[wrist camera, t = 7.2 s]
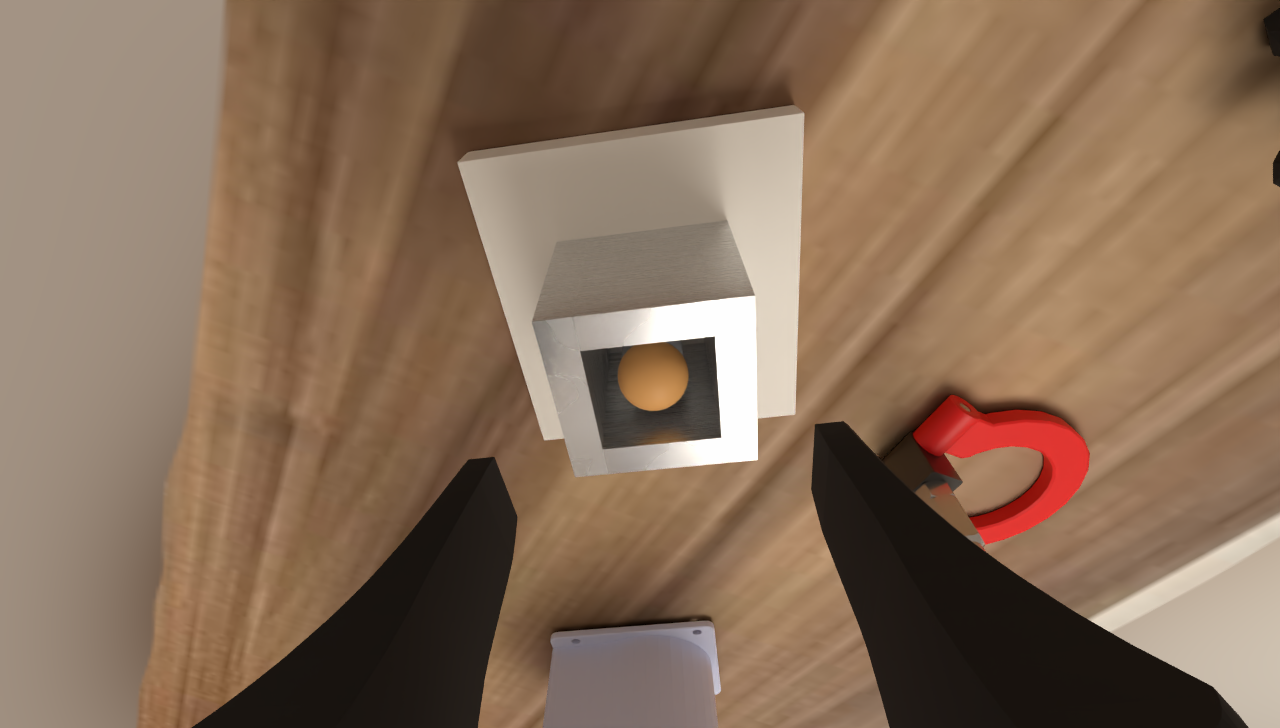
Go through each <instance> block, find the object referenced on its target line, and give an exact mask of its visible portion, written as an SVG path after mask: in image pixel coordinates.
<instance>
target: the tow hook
mask: <svg viewBox="0 0 1280 728" xmlns="http://www.w3.org/2000/svg"><path fill="white" fill-rule="evenodd" d="M1009 446H1015V447H1028V448H1031V449H1034V450H1037V451H1040V452H1041V453H1042V454H1043V456H1044V467H1043V470H1042V472H1041V474H1040V477H1039V478H1038V480H1037V481H1036V482H1035V483H1034V485H1033V486H1032V487H1031V488H1030V489H1029V490H1028V491H1027V492H1026V493H1024V494H1023V495H1022V496H1021V497H1020V498H1018V499H1016V500H1015V501H1013V502H1011V503H1010V504H1008V505H1007V506H1004V507H1002V508H1000V509H997V510H995V511H993V512H990V513H986V514H983V515H979V516H975V517H968V515H967V514H966V512H965V510H964V509H963V507H962V506H961V504H960V503H959V501H958V500H957V498H956V497H955V495H954V493H953V491H954V490H955V489H956V488H957V487H959V486H960V485H961V484H962V480H961V478H960V477H959V475H958V474H957V472H956V471H955V470H954V468H953V467H952V465H951V464H950V462H949V461H948V459H947V458H946V456H945V455H944V453H948V454H951V455H954V456H957V457H959V458H966V457H971V456H973V455H975V454H977V453H981V452H984V451H987V450H991V449H994V448H1001V447H1009ZM1089 456H1090V453H1089V451H1088V448H1087V446H1086V443H1085V441H1084V439H1083V438H1082V437H1081V436H1080V435H1079V434H1078V433H1077V432H1076V431H1075V430H1074V429H1073V428H1072V427H1071V426H1070V425H1068V424H1067V423H1066V422H1065V421H1064V420H1062V419H1061V418H1059V417H1056V416H1053V415H1050V414H1047V413H1045V412H1042V411H1029V410H1010V411H1002V412H995V413H988V414H983V413H981V412H978V411H977V410H976V409H975V408H974V407H973V406H972V405H970V404H969V403H968V402H966V401H965V400H963V399H962V398H960V397H958V396H955V395H950V396H949V397H948V398H947V399H946V400H945V401H944V402H943V403H942V404H941V405H940V406H939V407H938V408H937V409H936V410H935V411H934V412H933V413H932V414H931V415H930V416H929V417H928V418H927V419H926V420H925V421H924V422H923V423H922V424H921V425H920V426H919V427H918V428H917V429H916V430H915V431H912V432H910V433H909V434H908V435H907V436H906V437H905V438H904V439H903V440H902V441H901V442H900V443H899V444H898V445H897V446H896V447H895V448H894V449H893V450H892V451H891V452H890V453H889V454H888V455H887V456H886V457H885V458H884V459H883V460H882V461H883V462H884V463H885V465H886V466H887V467H888V468H889V469H890V470H892V471H893V472H894V473H895V474H896V475H897V476H898V477H899V478H900V479H901V480H902V481H903V482H904V483H905V484H906V485H907V486H908V487H909V488H910V489H911V490H912V491H913V492H915V493H916V494H917V495H918V496H919V497H920V498H921V499H922V500H923V501H924V502H925V503H927V504H928V505H929V506H930V507H931V508H932V509H933V510H935V511H936V512H937V513H938V514H939V515H940V516H942V517H943V518H944V519H945V520H946V521H947V522H949V523H950V524H951V525H952V526H953V527H955V528H956V529H957V530H958V531H959V532H961V533H962V534H963V535H964V536H966V537H967V538H968V539H969V540H971V541H972V542H973V543H974V544H976V545H977V546H978V547H980V548H981V549H982V550H984V548H983V547H984V546H985V544H989V543H993V542H997V541H1000V540H1004V539H1006V538H1009V537H1011V536H1014V535H1016V534H1019V533H1021V532H1024V531H1026V530H1028V529H1030V528H1031V527H1033V526H1035V525H1037V524H1038V523H1040V522H1042V521H1044V520H1045V519H1047V518H1048V517H1050V516H1051V515H1052V514H1053V513H1055V512H1056V511H1057V510H1058V509H1060V508H1061V507H1062V506H1063V505H1065V504H1066V503H1067V502H1068V500H1069V499H1070V498H1071V497H1072V496H1073V495H1074V493H1075V492H1076V491H1077V490H1078V489H1079V487H1080V486H1081V484H1082V482H1083V480H1084V477H1085V475H1086V473H1087V471H1088V467H1089ZM984 551H985V550H984ZM985 552H986V551H985Z"/></svg>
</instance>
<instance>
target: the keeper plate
mask: <svg viewBox="0 0 1280 728" xmlns="http://www.w3.org/2000/svg"><path fill="white" fill-rule="evenodd" d="M803 140H804V112H803V111H801V110H800V109H799V108H798V107H796V106H795V105H790V106H783V107H776V108H769V109H762V110H756V111H749V112H742V113H735V114H728V115H721V116H714V117H707V118H700V119H693V120H686V121H679V122H672V123H665V124H658V125H652V126H645V127H638V128H631V129H624V130H617V131H610V132H603V133H596V134H589V135H582V136H575V137H568V138H561V139H554V140H548V141H541V142H534V143H527V144H520V145H513V146H506V147H499V148H492V149H485V150H478V151H471V152H467V153H466V154H465V155H464V156H463V157H462V158H461V159H460V160H459V161H458V162H457V163H458V166H459V169H460V173H461V176H462V179H463V182H464V185H465V189H466V192H467V195H468V198H469V201H470V205H471V208H472V211H473V214H474V217H475V221H476V224H477V227H478V230H479V233H480V237H481V240H482V243H483V246H484V249H485V253H486V256H487V259H488V262H489V265H490V269H491V272H492V275H493V278H494V281H495V285H496V288H497V291H498V294H499V297H500V301H501V304H502V307H503V310H504V313H505V316H506V320H507V323H508V326H509V329H510V332H511V336H512V339H513V342H514V345H515V348H516V352H517V355H518V358H519V361H520V364H521V368H522V371H523V374H524V377H525V380H526V384H527V387H528V390H529V393H530V396H531V400H532V403H533V406H534V409H535V412H536V416H537V419H538V422H539V425H540V428H541V432H542V435H543V438H544V440H554V439H563V438H564V436H563V432H562V428H561V425H560V421H559V418H558V414H557V411H556V407H555V403H554V400H553V396H552V393H551V389H550V385H549V382H548V378H547V375H546V371H545V368H544V364H543V360H542V357H541V353H540V350H539V346H538V342H537V339H536V335H535V332H534V328H533V325H532V319H533V316H534V313H535V309H536V306H537V303H538V300H539V297H540V293H541V290H542V287H543V284H544V280H545V277H546V274H547V271H548V268H549V264H550V261H551V258H552V255H553V252H554V248H555V245H556V242H559V241H567V240H575V239H583V238H591V237H598V236H606V235H614V234H622V233H630V232H638V231H646V230H654V229H662V228H670V227H678V226H686V225H693V224H701V223H709V222H717V221H725V220H728V223H729V226H730V229H731V231H732V234H733V237H734V239H735V242H736V245H737V248H738V250H739V253H740V256H741V258H742V261H743V264H744V267H745V269H746V272H747V275H748V277H749V280H750V283H751V286H752V288H753V291H754V294H755V315H756V382H757V418H766V417H776V416H786V415H795V403H796V370H797V338H798V305H799V272H800V239H801V206H802V173H803ZM696 343H704V337H703V338H694V339H685V340H676V341H667V342H658V343H649V344H640V345H631V346H622V347H613V348H609V351H610V353H615V352H622V359H621V361H620V364H619V368H618V383H619V387H620V389H621V392H622V393H623V395H624V396H625V398H626V399H627V400H628V401H629V402H630V403H631V404H633V405H634V406H636V407H638V408H640V409H643V410H648V411H658V410H663V409H666V408H668V407H670V406H672V405H673V404H675V403H676V402H677V401H678V400H679V399H680V398H681V397H682V395H683V394H684V392H685V390H686V387H687V384H688V378H689V374H688V367H687V363H686V361H685V359H684V357H683V352H682V345H687V344H696Z"/></svg>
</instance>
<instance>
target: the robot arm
mask: <svg viewBox="0 0 1280 728" xmlns="http://www.w3.org/2000/svg"><path fill="white" fill-rule="evenodd" d="M811 490H812V494H813V498H814V502H815V506H816V510H817V514H818V517H819V521H820V525H821V528H822V532H823V535H824V537H825V540H826V543H827V545H828V548H829V550H830V553H831V555H832V558H833V561H834V563H835V566H836V568H837V571H838V573H839V576H840V578H841V581H842V584H843V586H844V589H845V591H846V594H847V596H848V599H849V601H850V604H851V606H852V609H853V611H854V614H855V616H856V619H857V622H858V624H859V627H860V629H861V632H862V635H863V638H864V641H865V644H866V647H867V650H868V653H869V656H870V660H871V663H872V667H873V670H874V674H875V677H876V681H877V684H878V687H879V691H880V694H881V698H882V701H883V705H884V709H885V712H886V716H887V720H888V723H889V727H890V728H1248V726H1247V725H1246V724H1245V723H1244V721H1243V720H1242V719H1241V718H1240V716H1239V715H1238V714H1237V713H1236V712H1235V711H1234V710H1233V708H1232V707H1231V706H1230V705H1229V704H1228V703H1227V702H1226V701H1225V700H1224V699H1223V697H1222V696H1221V695H1220V694H1219V693H1218V692H1217V691H1216V690H1215V689H1214V688H1213V687H1212V686H1210V685H1208V684H1207V683H1205V682H1202V681H1201V680H1199V679H1197V678H1195V677H1193V676H1191V675H1189V674H1187V673H1185V672H1183V671H1181V670H1179V669H1178V668H1175V667H1174V666H1172V665H1170V664H1168V663H1166V662H1164V661H1162V660H1160V659H1158V658H1156V657H1154V656H1152V655H1150V654H1149V653H1147V652H1145V651H1143V650H1141V649H1139V648H1137V647H1135V646H1133V645H1131V644H1130V643H1128V642H1126V641H1124V640H1122V639H1121V638H1119V637H1117V636H1115V635H1114V634H1112V633H1110V632H1109V631H1107V630H1105V629H1103V628H1102V627H1100V626H1098V625H1096V624H1095V623H1093V622H1091V621H1089V620H1088V619H1086V618H1084V617H1083V616H1081V615H1079V614H1078V613H1076V612H1074V611H1073V610H1071V609H1069V608H1068V607H1066V606H1065V605H1063V604H1062V603H1060V602H1059V601H1057V600H1055V599H1054V598H1052V597H1051V596H1049V595H1048V594H1046V593H1045V592H1043V591H1041V590H1040V589H1038V588H1037V587H1035V586H1034V585H1032V584H1031V583H1029V582H1027V581H1026V580H1024V579H1023V578H1021V577H1020V576H1018V575H1017V574H1016V573H1014V572H1013V571H1011V570H1010V569H1008V568H1007V567H1006V566H1004V565H1003V564H1001V563H1000V562H998V561H997V560H996V559H994V558H993V557H992V556H990V555H989V554H988V553H986V552H985V551H984V550H982V549H981V548H980V547H978V546H977V545H976V544H974V543H973V542H972V541H971V540H969V539H968V538H967V537H966V536H964V535H963V534H962V533H961V532H959V531H958V530H957V529H956V528H955V527H953V526H952V525H951V524H950V523H949V522H947V521H946V520H945V519H944V518H943V517H942V516H940V515H939V514H938V513H937V512H936V511H935V510H933V509H932V508H931V507H930V506H929V505H928V504H927V503H925V502H924V501H923V500H922V499H921V498H920V497H919V496H918V495H917V494H916V493H915V492H913V491H912V490H911V489H910V488H909V487H908V486H907V485H906V484H905V483H904V482H903V481H902V480H901V479H900V478H899V477H898V476H897V475H896V474H895V473H894V472H893V471H892V470H890V469H889V468H888V467H887V466H886V465H885V463H884V462H883V461H882V460H881V459H880V458H879V457H878V456H877V455H876V454H875V453H874V452H873V451H872V450H871V449H870V448H869V447H868V446H867V445H866V444H865V443H864V442H863V441H862V440H861V438H860V437H859V436H858V435H857V434H856V433H855V432H854V431H853V430H852V429H851V428H850V426H849V425H847V424H846V423H845V422H844V421H842V422H832V423H823V424H815V434H814V451H813V469H812V487H811ZM516 527H517V514H516V512H515V509H514V507H513V504H512V501H511V499H510V496H509V494H508V491H507V489H506V486H505V483H504V481H503V478H502V476H501V473H500V471H499V468H498V465H497V463H496V460H495V458H494V457H489V458H480V459H470V460H468V461H467V462H466V463H465V465H464V466H463V467H462V468H461V470H460V471H459V472H458V473H457V474H456V476H455V477H454V478H453V480H452V481H451V482H450V483H449V485H448V486H447V487H446V489H445V490H444V491H443V492H442V494H441V495H440V496H439V498H438V499H437V500H436V501H435V503H434V504H433V505H432V506H431V508H430V509H429V510H428V511H427V513H426V514H425V515H424V516H423V518H422V519H421V520H420V521H419V523H418V524H417V525H416V526H415V527H414V529H413V530H412V531H411V532H410V534H409V535H408V536H407V537H406V538H405V540H404V541H403V542H402V543H401V544H400V545H399V546H398V548H397V549H396V550H395V551H394V552H393V553H392V554H391V556H390V557H389V558H388V559H387V560H386V561H385V562H384V563H383V565H382V566H381V567H380V568H379V569H378V570H377V571H376V572H375V574H374V575H373V576H372V577H371V578H370V579H369V580H368V581H367V582H366V583H365V584H364V585H363V586H362V587H361V588H360V589H359V590H358V591H357V592H356V593H355V594H354V595H353V596H352V597H351V598H350V599H349V600H348V601H347V602H346V603H345V604H344V605H343V606H342V607H341V608H340V609H339V610H338V611H337V612H336V613H335V614H333V615H332V616H331V617H330V618H329V619H328V620H327V621H326V622H325V623H324V624H322V625H321V626H320V627H319V628H318V629H317V630H316V631H314V632H313V633H312V634H311V635H310V636H309V637H308V638H306V639H305V640H304V641H303V642H302V643H301V644H300V645H298V646H297V647H296V648H295V649H294V650H293V651H292V652H290V653H289V654H288V655H287V656H286V657H285V658H283V659H282V660H281V661H280V662H279V663H277V664H276V665H275V666H274V667H272V668H271V669H270V670H269V671H267V672H266V673H265V674H264V675H262V676H261V677H260V678H259V679H257V680H256V681H255V682H253V683H252V684H251V685H250V686H248V687H247V688H246V689H244V690H243V691H242V692H240V693H239V694H238V695H236V696H235V697H234V698H233V699H231V700H230V701H228V702H227V703H226V704H224V705H223V706H222V707H220V708H219V709H218V710H216V711H215V712H213V713H212V714H211V715H209V716H208V717H206V718H205V719H203V720H202V721H201V722H199V723H198V724H196V725H195V726H193V727H192V728H478V721H479V714H480V707H481V701H482V694H483V687H484V680H485V674H486V670H487V665H488V660H489V655H490V651H491V647H492V643H493V639H494V635H495V631H496V627H497V622H498V618H499V614H500V610H501V606H502V602H503V598H504V594H505V590H506V586H507V582H508V577H509V573H510V569H511V565H512V560H513V553H514V545H515V537H516ZM550 643H551V645H552V647H553V651H552V659H551V667H550V675H549V683H548V690H547V698H546V706H545V714H544V722H543V728H718V720H717V711H716V702H715V694H718V693H720V692H721V686H720V676H719V667H718V658H717V648H716V639H715V630H714V624H713V623H712V622H710V621H692V622H680V623H667V624H654V625H641V626H628V627H615V628H602V629H589V630H576V631H563V632H555V633H553V634H552V635H551V640H550Z"/></svg>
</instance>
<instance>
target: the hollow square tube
mask: <svg viewBox="0 0 1280 728" xmlns="http://www.w3.org/2000/svg"><path fill="white" fill-rule="evenodd" d="M532 325H533V328H534V332H535V335H536V339H537V342H538V346H539V350H540V353H541V357H542V360H543V364H544V368H545V371H546V375H547V378H548V382H549V385H550V389H551V393H552V396H553V400H554V403H555V407H556V411H557V414H558V418H559V421H560V425H561V428H562V432H563V436H564V439H565V443H566V446H567V450H568V454H569V457H570V461H571V464H572V468H573V471H574V475H575V477H583V476H594V475H604V474H615V473H625V472H636V471H646V470H657V469H667V468H678V467H688V466H699V465H709V464H720V463H730V462H741V461H752V460H758V449H757V382H756V315H755V294H754V291H753V288H752V286H751V283H750V280H749V277H748V275H747V272H746V269H745V267H744V264H743V261H742V258H741V256H740V253H739V250H738V248H737V245H736V242H735V239H734V237H733V234H732V231H731V229H730V226H729V223H728V220H725V221H717V222H709V223H701V224H693V225H686V226H678V227H670V228H662V229H654V230H646V231H638V232H630V233H622V234H614V235H606V236H598V237H591V238H583V239H575V240H567V241H559V242H556V245H555V248H554V252H553V255H552V258H551V261H550V264H549V268H548V271H547V274H546V277H545V280H544V284H543V287H542V290H541V293H540V297H539V300H538V303H537V306H536V309H535V313H534V316H533V319H532ZM703 337H704V343H696V344H687V345H682V352H683V357H684V359H685V361H686V363H687V367H688V374H689V378H688V384H687V387H686V390H685V392H684V394H683V395H682V397H681V398H680V399H679V400H678V401H677V402H676V403H675V404H673V405H672V406H670V407H668V408H666V409H663V410H658V411H648V410H643V409H640V408H638V407H636V406H634V405H633V404H631V403H630V402H629V401H628V400H627V399H626V398H625V396H624V395H623V393H622V392H621V389H620V387H619V383H618V368H619V364H620V361H621V359H622V352H615V353H610V351H609V348H613V347H622V346H631V345H640V344H649V343H658V342H667V341H676V340H685V339H694V338H703Z"/></svg>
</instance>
